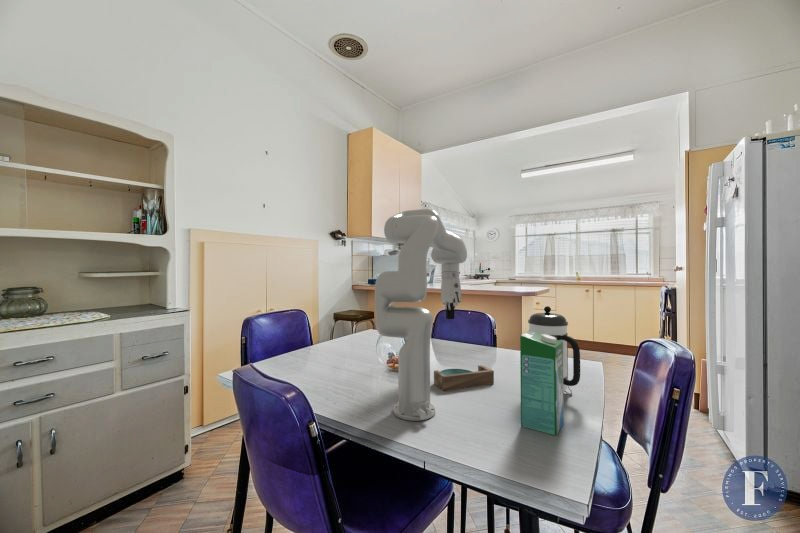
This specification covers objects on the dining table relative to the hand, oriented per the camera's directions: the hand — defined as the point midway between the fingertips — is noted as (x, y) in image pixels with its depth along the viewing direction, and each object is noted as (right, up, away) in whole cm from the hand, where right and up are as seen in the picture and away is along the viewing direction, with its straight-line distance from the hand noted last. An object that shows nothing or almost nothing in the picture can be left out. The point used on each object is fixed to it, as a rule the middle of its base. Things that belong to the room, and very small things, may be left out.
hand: (450, 318), depth 142 cm
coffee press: (+31, -22, -27) cm, 46 cm away
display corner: (+2, -22, -17) cm, 28 cm away
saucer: (+1, -22, -13) cm, 26 cm away
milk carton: (+18, -22, -50) cm, 57 cm away
